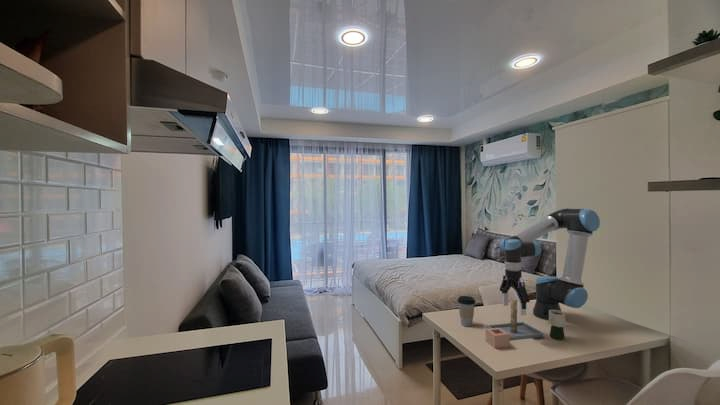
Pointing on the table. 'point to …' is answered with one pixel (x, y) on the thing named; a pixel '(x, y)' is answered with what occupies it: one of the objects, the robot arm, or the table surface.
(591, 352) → the table surface
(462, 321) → the coffee cup
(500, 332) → the pink square tube
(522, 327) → the tray
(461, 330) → the table surface
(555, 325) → the character mug
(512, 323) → the dowel
